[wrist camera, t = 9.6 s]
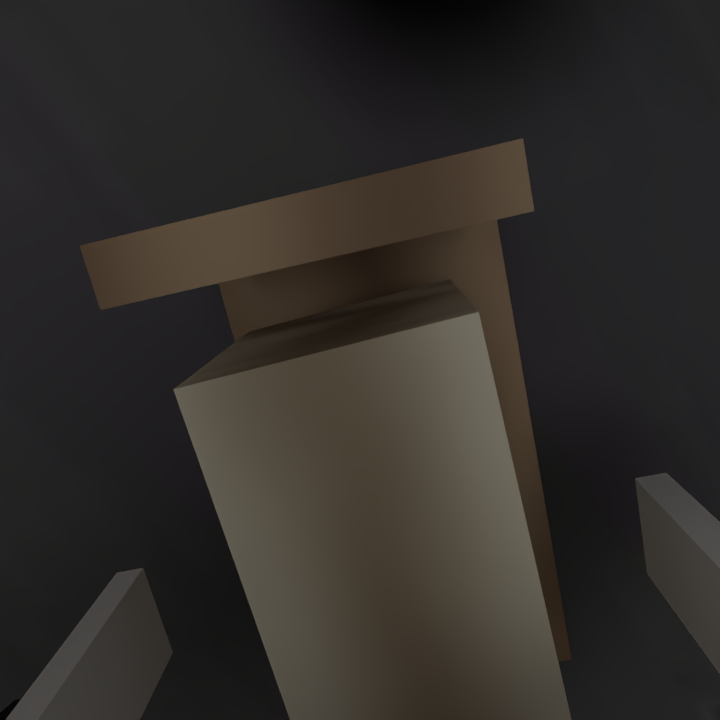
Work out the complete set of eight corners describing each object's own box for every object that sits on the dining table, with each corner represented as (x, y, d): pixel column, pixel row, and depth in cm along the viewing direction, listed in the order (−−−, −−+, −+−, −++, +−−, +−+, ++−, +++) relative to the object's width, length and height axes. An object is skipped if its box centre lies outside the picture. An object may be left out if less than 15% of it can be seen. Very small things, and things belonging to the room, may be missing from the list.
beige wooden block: (371, 718, 20) (361, 921, 14) (249, 331, 17) (173, 389, 11) (545, 687, 19) (610, 889, 14) (449, 279, 16) (478, 311, 11)
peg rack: (335, 679, 26) (290, 1010, 15) (213, 238, 21) (29, 258, 11) (566, 645, 24) (697, 976, 14) (485, 174, 20) (583, 123, 10)
